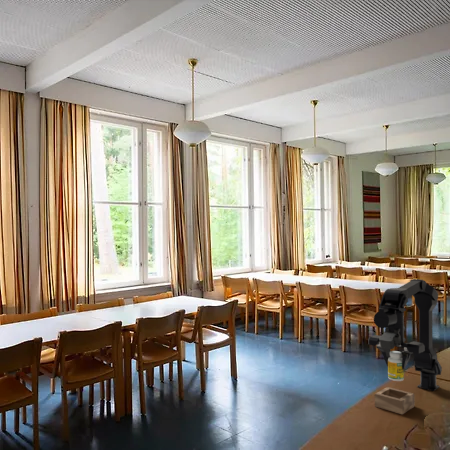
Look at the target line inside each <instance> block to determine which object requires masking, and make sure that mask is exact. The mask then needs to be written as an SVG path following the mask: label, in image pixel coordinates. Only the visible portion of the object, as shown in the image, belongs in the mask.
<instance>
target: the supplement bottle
mask: <svg viewBox="0 0 450 450" xmlns="http://www.w3.org/2000/svg"><path fill="white" fill-rule="evenodd" d="M401 352H402V351H398V350H390V357H389V358H388V366H387V378H388V379H389V380H390V381H394V382H402V381H404V379H405V377H404V375H405V372H404V371H405V369H404V370H403V369H402V357H403V355H402V353H401Z"/></svg>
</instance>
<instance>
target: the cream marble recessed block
mask: <svg viewBox="0 0 450 450" xmlns="http://www.w3.org/2000/svg"><path fill="white" fill-rule="evenodd" d="M374 407H375V408H378V409H381V410H386V411H389V412H392V413H396V414H400V415H404V414H406V413H407V412H408V411H411V410H412V409H413V408H414V407H415V393H413V392H410V391H406V390H402V389H397V388H394V387H389V386H387V387H385V388H382V389H381V390H379V391H378V392H375V393H374Z"/></svg>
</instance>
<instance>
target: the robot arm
mask: <svg viewBox="0 0 450 450" xmlns="http://www.w3.org/2000/svg"><path fill="white" fill-rule="evenodd" d="M411 297H413V298H414V304H415V306H416V307H417V309H418V321H419V323H418V324H419V326H418V329H419V330H418V332H419V333H418V334H419V335H418V339H419V340H418V341H414V340H413V341H411V342H406V341H407V340H406V338H405V331H406V326H405V311H406V310H407V309H406V308H405V307H406V304H407V303H409V299H410V298H411ZM438 300H439V293H438V291H437V290H436V288H435V287H434V286H432V285H430V284H429V283H427V282H426V281H425V280H424V279H419V278H418V279H417V278H412V279H410V280H409V281H408V282H407V283H405V284H402V285H401V286H398V287H396V288H395V287H394V288H393V287H392V288H387V289H385V290H384V293H383V294H382V298H381V300H380V303H379V306H378V311H377V312H375V314H374V317H373V322H374V324H375V325H376V327H377V328H380V329H384V333H383V334H382V335H376V334H375V335H374V334H373V335H372V336H370V337H368V339H367V341H368V343H367V344H368V345H369V346H374V347H375V348H376V349H378V350H379V351H380V352H381V354H382V356H383V359H384V362H385V364H386V366H387V367H388V358H389V357H391V356H390V351H391V350H394V349H395V347H396V348H401V349H403V350H402V351H400V352H401V353H402V356H401V358H402V369H403V370H404V371H405V369H406V368H407V365H408V363H409V361H410V358H411V356H412V355H413V356H414V357H413V365H414V370H415V372H420V384H417V385H416V386H417V388H419V389H424V390H428V391H432V392H434V391H436V390H438V389H439V388H441V387H440V385H437V376H441V375H442V371H443V370H442V369H443V367H442V366H441V364H440V362H439V360H438V354H437V352H436V351H435V349H434V347H433V310H434V309H435V308H436V306H437V305H438Z"/></svg>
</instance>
